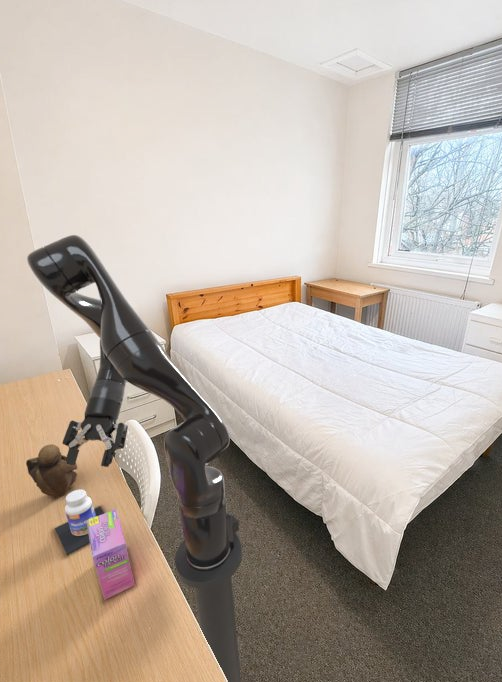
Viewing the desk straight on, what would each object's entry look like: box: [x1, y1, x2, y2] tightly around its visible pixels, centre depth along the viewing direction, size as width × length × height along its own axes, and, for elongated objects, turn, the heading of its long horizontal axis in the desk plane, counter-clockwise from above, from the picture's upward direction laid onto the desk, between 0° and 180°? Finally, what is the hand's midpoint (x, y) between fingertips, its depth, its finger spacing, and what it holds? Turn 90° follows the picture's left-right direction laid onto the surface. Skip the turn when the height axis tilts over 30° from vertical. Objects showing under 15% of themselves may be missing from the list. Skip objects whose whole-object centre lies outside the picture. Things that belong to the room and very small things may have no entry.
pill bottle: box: [64, 488, 96, 536], centre depth 81 cm, size 5×5×10 cm
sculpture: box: [25, 443, 78, 498], centre depth 91 cm, size 11×11×15 cm
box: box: [87, 509, 135, 601], centre depth 71 cm, size 10×6×12 cm, turn 34°
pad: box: [54, 506, 106, 556], centre depth 83 cm, size 10×10×1 cm
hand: (87, 465), depth 83 cm, fingers open, 8 cm apart
